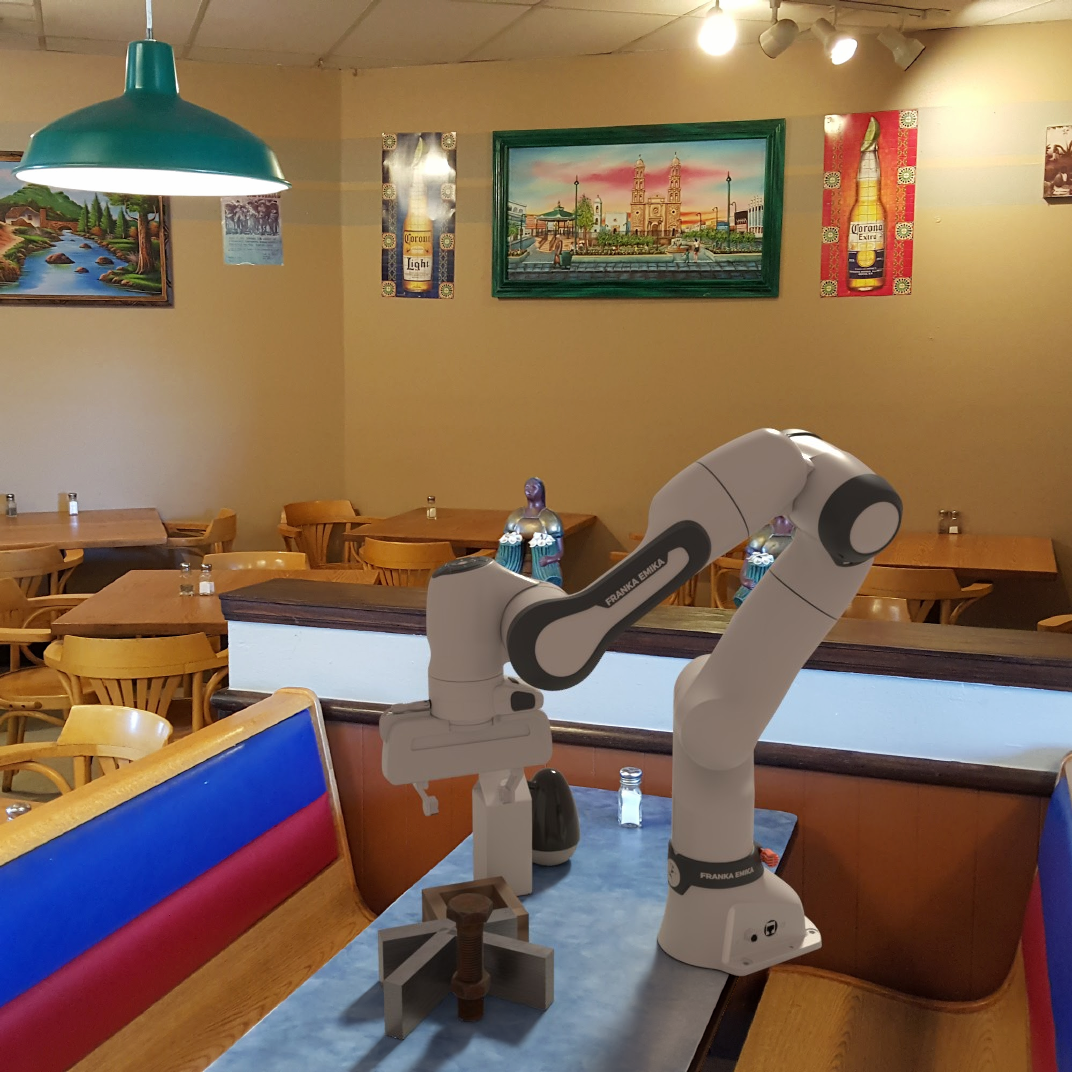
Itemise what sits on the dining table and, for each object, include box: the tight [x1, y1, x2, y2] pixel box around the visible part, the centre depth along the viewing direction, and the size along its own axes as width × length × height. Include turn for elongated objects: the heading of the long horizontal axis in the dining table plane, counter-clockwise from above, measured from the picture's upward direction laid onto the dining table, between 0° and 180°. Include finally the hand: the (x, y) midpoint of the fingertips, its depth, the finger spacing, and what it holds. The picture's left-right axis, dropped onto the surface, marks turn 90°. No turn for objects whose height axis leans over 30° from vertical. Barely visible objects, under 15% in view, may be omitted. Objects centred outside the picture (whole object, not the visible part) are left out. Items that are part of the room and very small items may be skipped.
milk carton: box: [471, 770, 533, 897], centre depth 171 cm, size 7×7×19 cm
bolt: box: [446, 893, 493, 1023], centre depth 137 cm, size 6×5×15 cm
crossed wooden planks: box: [377, 907, 555, 1040], centre depth 143 cm, size 22×14×7 cm, turn 110°
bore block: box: [421, 876, 530, 943], centre depth 158 cm, size 12×12×5 cm
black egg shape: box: [526, 767, 581, 867], centre depth 181 cm, size 10×10×15 cm
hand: (469, 807), depth 134 cm, fingers open, 8 cm apart
